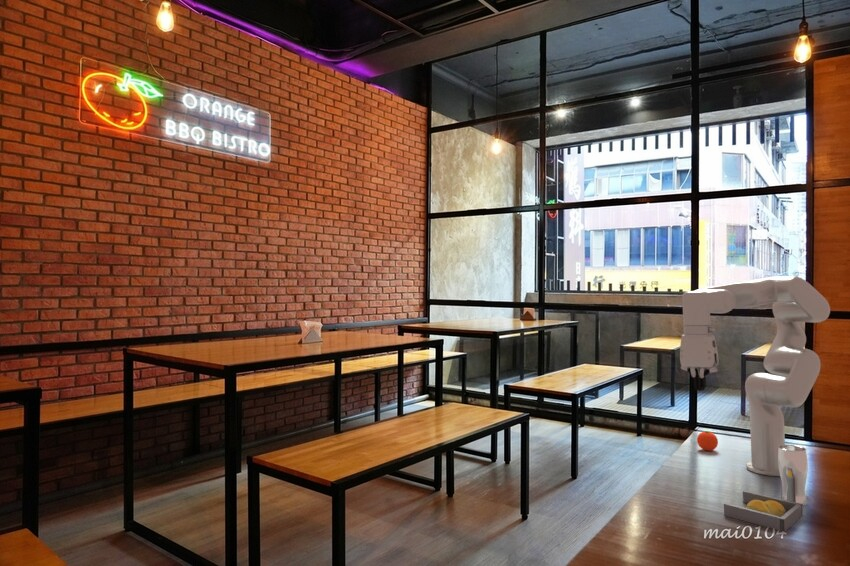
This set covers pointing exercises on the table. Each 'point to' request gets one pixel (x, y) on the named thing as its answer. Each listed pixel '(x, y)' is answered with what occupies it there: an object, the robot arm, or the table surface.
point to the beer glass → (793, 472)
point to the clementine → (707, 440)
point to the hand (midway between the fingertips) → (699, 389)
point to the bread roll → (767, 507)
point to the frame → (764, 519)
